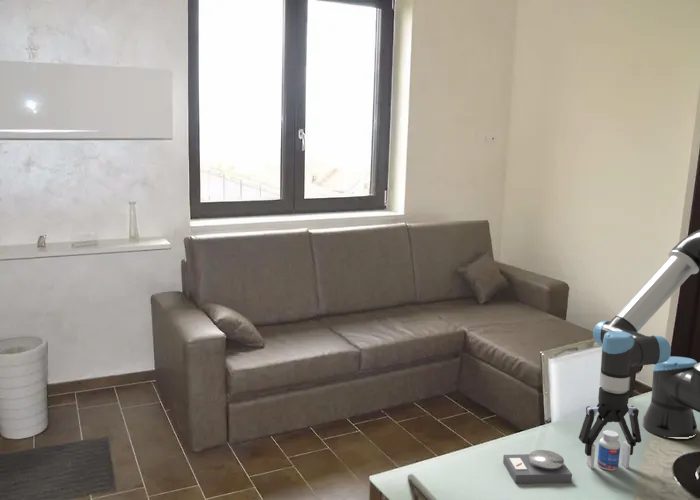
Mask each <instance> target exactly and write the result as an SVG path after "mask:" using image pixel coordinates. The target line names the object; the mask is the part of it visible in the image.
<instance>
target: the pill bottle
mask: <svg viewBox="0 0 700 500" xmlns="http://www.w3.org/2000/svg"><path fill="white" fill-rule="evenodd" d="M620 450H621V443H620V442H619V433H618V432H616V431H615V430H607V429H606V430H604V431H603V430H602V437H601V438H600V440H599V441H598V451H597V466H598V467H599V468H600V469H603V470H604V471H610V472H611V471H617V470H618V468H619V464H620V452H621V451H620Z"/></svg>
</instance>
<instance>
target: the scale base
mask: <svg viewBox="0 0 700 500" xmlns="http://www.w3.org/2000/svg"><path fill="white" fill-rule="evenodd" d="M529 454H530V453H529ZM529 454H521V453H519V454H503V460H502V463H503V465H504V468H506V470H507V471H508V473H509V475H510V477H511V478H512V480H513V482H514V484H556V483H557V484H560V483H562V484H564V483H567V484H569V483H572V482H573V481H572V480H573V479H572V478H573V473H572V472H571V470H570V469H569V468H568V467H567V465H566V464H565V463H564V465H563V467H561V468H559V469H555V470H548V469H542V468H539V467H536V466H534V465H533V464H532V463H530V461H529Z"/></svg>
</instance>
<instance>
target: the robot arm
mask: <svg viewBox="0 0 700 500" xmlns="http://www.w3.org/2000/svg"><path fill="white" fill-rule="evenodd" d="M699 272H700V229H698V230H696V231H694V232H692V233H690V234H688V235H687V236H686V237H684V238H682V239H681V240H680V241H679V242H678V243H677V244H676V245H675V246H674V247H673V248H672V249H671V250H670V251H669V252H668V259H666V261H665V262H663V264H662V265H661V266H660V267H659V268H658V270H656V271H655V273H653V275H652V276H651V277H650V278H649V279H648V280H647V281H646V282H645V283H644V284H643V285H642V286H641V288H640V289H639V290H638V291H637V292H636V293H635V294H634V295H633V296H632V297H631V299H629V301H628V302H627V303H625V305H624V306H623V307H622V308H621V309H620V310H619V311H618V312H617V313H616V315H615V316H614V317H612V319H610V320H602V321H601V320H600V322H598V323H596V324H595V326H594V327H593V330H592V331H593V332H592V337H593V340H594V341H595V343H596V344H598V345H599V346H601V357H600V359H601V361H600V375H599V387H598V397H597V399H598V400H597V401H598V402H597V405H596V406H594V407H590V406H586V407H585V413H586V415H585V418H584V420H583V422H582V427H581V429H580V432H579V435H578V439H579V441H581V443H582V444H584V445H585V446H584V453H585V455H586V456H587V457H586V458H587V459H586V465H587V467H589V468H590V469H594V468H595V456H596V445H595V444H594V443H595V442H596V440H597V438H598V436H599V435H600V433H601V432H602V431H603V428H604V427H605V426H607V424H608V423H618V425H619V427H620V429H621V431H622V434H623V436H624V438H625V440H623V443H622V455H621V464H622V465H623V466H624V467H625V468H626V469H628V468H629V467H630V459H631V456H633V454H634V447H636V446H637V443H639V444H640V443H641V442H642V438H641V437H642V435H641V430H640V424H639V412H640V410H639V409H638V408H637V407H635V406H634V405H630V406H629V405H628V404H629V399H630V398H629V396H630V392H629V390H630V387H631V386H630V385H631V375H632V367H641V366H651V365H654V367H653V371H652V383H651V385H652V388H651V398H650V399H651V400H650V403H649V406H648V407H647V410H646V412H645V414H644V416H643V419H642V420H643V421H642V426H643V428H644V429H645V430H646V431H648V432H650V433H651V434H653V433H654V434H653V435H655V434H657V435H656V436H658V435H661V436H665V437H689V436H693V435H695V434H696V433H697V434H698V425H697V421H696V417H695V414H694V411H695V412H697V413H700V362H697V360H696V359H693V358H690V357H685V356H671V352H672V347H671V345H670V342H669V341H668V340H667V338H665V337H664V336H662V335H653V334H652V335H651V336H649V335H645V334H642V333H641V332H639V331H640V330H641V329H642V328H643V327H644V326H645V325H646V324H647V323H648V322H649V320H650V319H651V318H652V317H653V316H654V315H655V314H656V313H657V312H658V311H659V309H660V308H662V307H663V305H665V303H666V302H667V301H668V300H669V299H670V298H671V297H672V296H673V295H674V293H676V291H677V290H678V289H679V288H680V287H681V286H682V285H683V284H684V283H685V282H686V280H687V279H688V278H689V277H690V276H691V275H696V274H698V273H699ZM597 413H598V415H597ZM627 414H628V416H629V422H630V428H631V431H630V429H629V426H628V424H627V421H626V418H625V417H626V415H627ZM596 416H597V417H596ZM595 417H596V420H595ZM594 421H595V422H594ZM661 436H660V437H661ZM665 437H664V438H665Z"/></svg>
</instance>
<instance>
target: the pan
mask: <svg viewBox="0 0 700 500" xmlns="http://www.w3.org/2000/svg"><path fill="white" fill-rule="evenodd" d="M529 461H530V463H532V464H533V465H534V466H536V467H539V468H542V469H548V470H555V469H559V468H561V467H563V465H564V464H565V463H564V462H565V460H564V457H563V456H562V455H560V454H559V453H557V452H554V451H551V450H546V449H537V450H533V451H531V452H529Z"/></svg>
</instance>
